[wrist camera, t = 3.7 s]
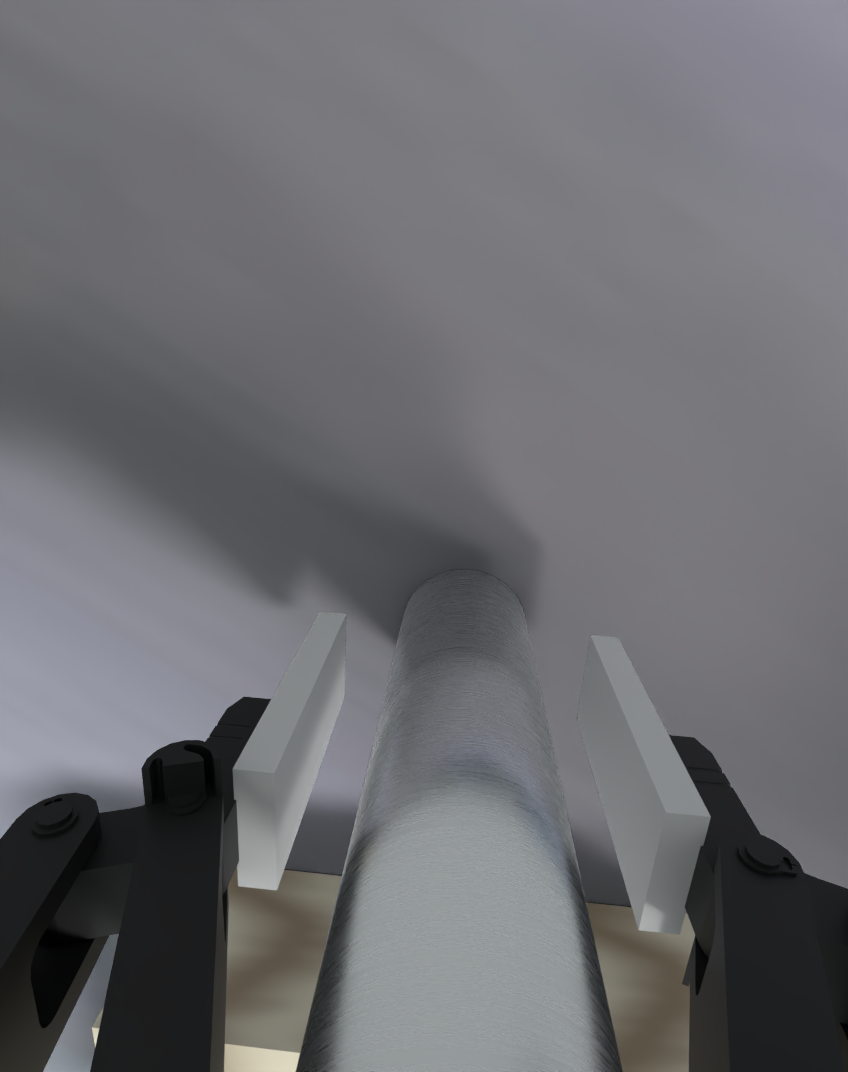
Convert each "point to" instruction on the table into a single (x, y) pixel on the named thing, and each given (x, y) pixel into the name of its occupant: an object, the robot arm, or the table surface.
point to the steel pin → (461, 867)
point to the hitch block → (298, 946)
